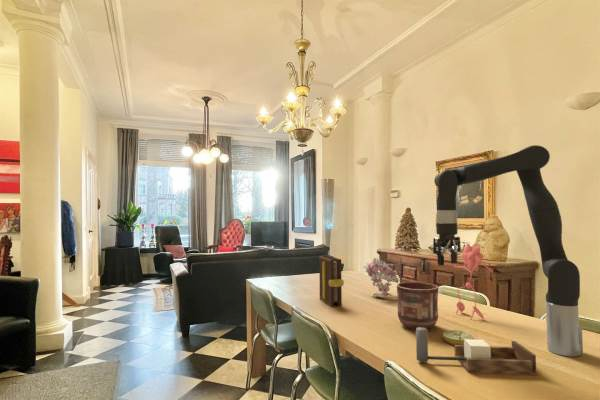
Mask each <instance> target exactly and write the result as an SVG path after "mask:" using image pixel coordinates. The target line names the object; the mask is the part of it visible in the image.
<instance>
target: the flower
mask: <svg viewBox="0 0 600 400" xmlns="http://www.w3.org/2000/svg"><path fill="white" fill-rule="evenodd" d="M365 264H366V265H363V266H362V268H364V269H365V270H364V272H365V273H367V274H368V276H369V277H370V280H371V282H372V286H373V287H377V289H378V292H380V293H378V292H375V293H373V295H372V297H374V296H377V297H379V298H382V299H386V297H387V294H388V292H389V291H390V286H392V285H393V284H392V283H391V282H393V281H394V282H395V281H398V282H401V279H399V278H398V277H397V276H398V272H397V270H395V269H394V270H393V268H391V267H389V266H390V264H389V263H386V262H385V261H383V260H381V259H380V257H378V258H376V257H374V258H372V262H370V263H369V262H366V263H365ZM382 279H384V280H385V281H386V282H384V283H383V282H382ZM381 292H382V294H381Z"/></svg>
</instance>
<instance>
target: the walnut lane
mask: <svg viewBox="0 0 600 400" xmlns="http://www.w3.org/2000/svg"><path fill="white" fill-rule="evenodd" d="M489 346H490V347H491V359H484V358H466V361H459V360H457V361H458V362H459V363H460V364H461V366H462V367H463V369H465V371H466V372H467V373H468V372H470V373H471V374H473V373H474V374H492V373H493V375H495V374H497V375H498V374H499V375H516V374H527V375H526V376H537V360H536V359H537V358H536V357H537V356H536V354H535V353H533V352H532V351H530V350H528V349H527V348H526V347H525V346H523V345H522V344H520V343H519V342H517V341H516V340H511V346H497V345H494V346H493V345H489ZM454 357H464V345H454Z"/></svg>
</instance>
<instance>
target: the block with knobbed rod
mask: <svg viewBox="0 0 600 400" xmlns="http://www.w3.org/2000/svg"><path fill="white" fill-rule="evenodd" d="M428 334H429V333H428V330H427V329H426V328H422V327H418V328H416V330H415V336H416V337H415V339H416V340H415V341H416V343H415V344H416V348H415V349H416V352H415V353H416V360H417V361H418V362H422V363H426V362H429V360H435V361H436V360H439V361H440V360H441V361H458V360H459V361H466V358H484V359H491V347H490V346H491V345H489V343H487V342H486V341H485V340H484V339H464V357H455V356H442V355H441V356H437V355H434V356H433V355H429V343H428V341H429V339H428ZM459 361H458V362H459Z"/></svg>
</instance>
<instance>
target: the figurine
mask: <svg viewBox="0 0 600 400" xmlns="http://www.w3.org/2000/svg"><path fill="white" fill-rule="evenodd" d="M480 251H481V247H479V246H477V244H476V243H473V244H472V245H470V243H467V244H466V246H465V247H464V248H463V253H461V255H460V256H461V259H463V263H464V265H463V266H457V265H456V264H454V263H453V264H454V268H461V269H465V270H466V271H468V272H469V273H470V277H469V281H468V282H465V286H464V285H463V286H462V287H459V288H457V289H456V290H457V295H458V300H459V301H457V303H456V308H457V310H456V313H455V315H458V313H459V312H461V313H463V312H464V311H465V310H466V309H465V308H466V307H465V304H464V303H463V302H462V301H461V298H460V294H459V293H460V292H459V290H460V289H462V288H467V289H472V291H473V292H474V294H475V295H474V296H475V297H474V298H475V299H474V305H473V306H472V309H473V310H472V309H471V310H470V309H468V311H470V312H472V313H471V316H470V320H472V319H473V317H474V313H475V314H476V315H478V316H479V317H480V318H481V319H483V320H484V319H485V318H484V315H485V316H486V315H488V314H487V313H484V312H481V311H480V310H479V309H478V308H477V292H476V290H475V289H474V288H473V286H472V283H471V280H472V276H473V272H474V271H475V270H478V269H479V266H481V265H483V266H484V268H485V267H486V269H488V270H489V271H490V272H491V273H493V270H492V269H491V268H490V267H489V266H488V265H486V263H484V262H483V261H482V259H484V257H485V256H484V255H483V253H482V252H480ZM451 254H452V253H451V252H450V255H449V257H450V259H451ZM458 259H459V255H458V254H457V260H458ZM466 266H467V267H466ZM483 314H484V315H483ZM488 316H490V317H491V315H488ZM479 323H480V324H481V323H483V322H481V321H480V322H479Z"/></svg>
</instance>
